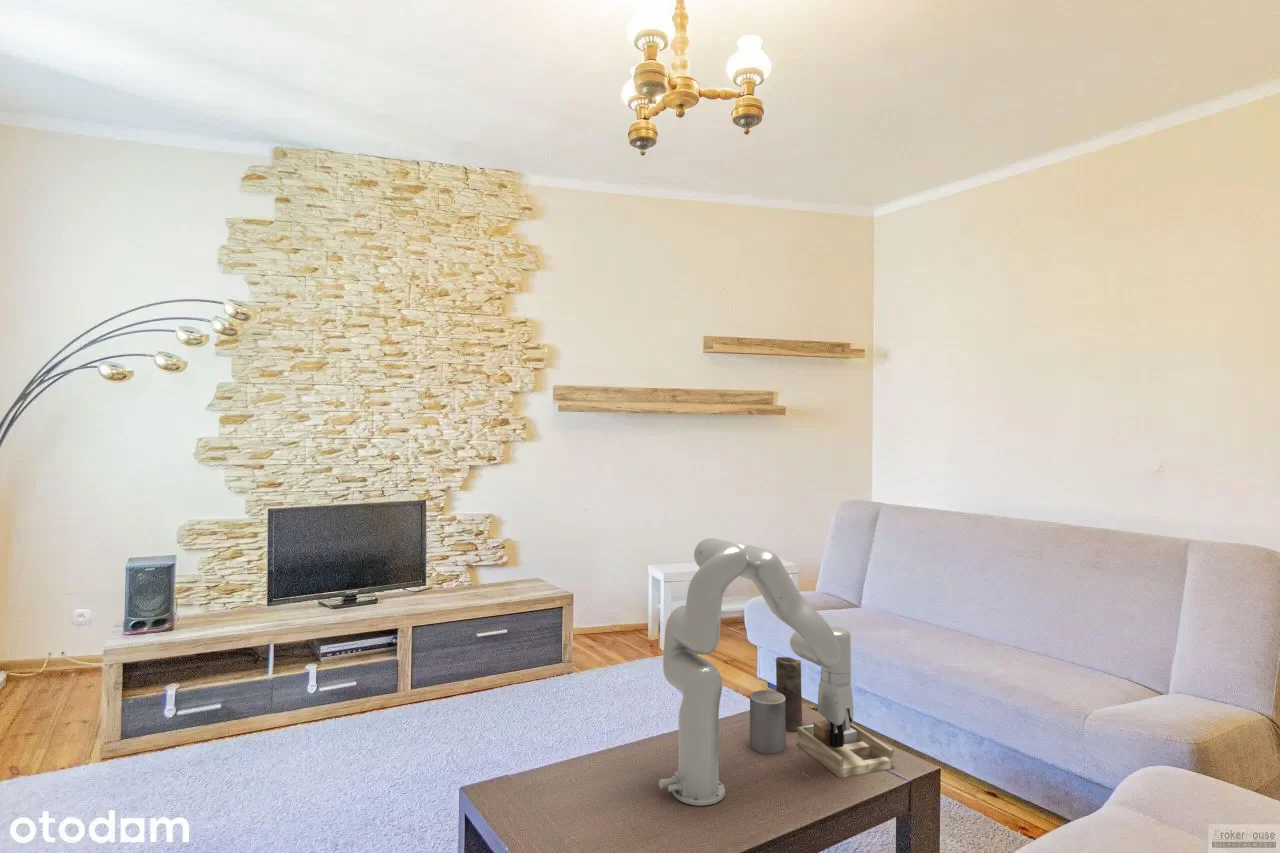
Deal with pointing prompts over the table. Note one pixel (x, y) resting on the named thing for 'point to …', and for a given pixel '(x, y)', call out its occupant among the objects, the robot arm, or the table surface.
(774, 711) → the pillar candle
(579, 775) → the table surface
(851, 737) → the trapped grey block
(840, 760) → the tray
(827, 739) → the walnut block
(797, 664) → the brown wooden cylinder
